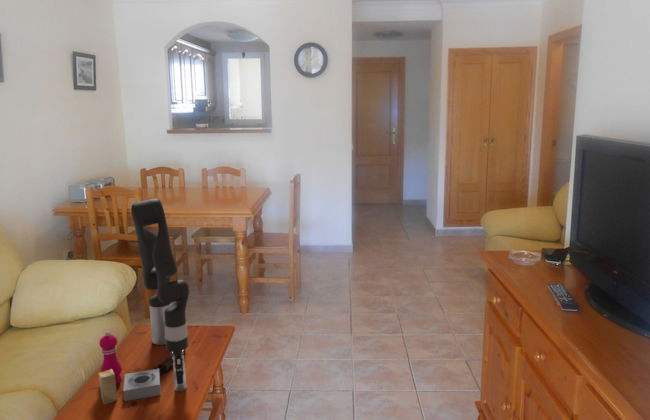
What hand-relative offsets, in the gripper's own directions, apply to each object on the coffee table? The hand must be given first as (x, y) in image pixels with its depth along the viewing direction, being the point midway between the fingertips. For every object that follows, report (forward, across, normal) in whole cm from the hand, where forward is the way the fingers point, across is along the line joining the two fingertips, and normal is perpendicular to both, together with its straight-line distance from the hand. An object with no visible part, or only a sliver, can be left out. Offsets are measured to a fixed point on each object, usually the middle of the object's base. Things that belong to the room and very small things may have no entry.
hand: (179, 377), depth 181 cm
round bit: (+4, 0, 0) cm, 4 cm away
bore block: (+4, -4, -13) cm, 14 cm away
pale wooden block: (+4, -1, -24) cm, 24 cm away
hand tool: (+5, -22, -2) cm, 23 cm away
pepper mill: (+4, -14, -24) cm, 28 cm away
